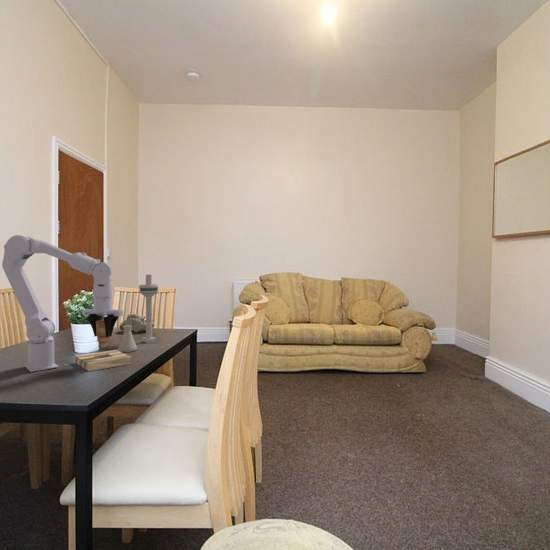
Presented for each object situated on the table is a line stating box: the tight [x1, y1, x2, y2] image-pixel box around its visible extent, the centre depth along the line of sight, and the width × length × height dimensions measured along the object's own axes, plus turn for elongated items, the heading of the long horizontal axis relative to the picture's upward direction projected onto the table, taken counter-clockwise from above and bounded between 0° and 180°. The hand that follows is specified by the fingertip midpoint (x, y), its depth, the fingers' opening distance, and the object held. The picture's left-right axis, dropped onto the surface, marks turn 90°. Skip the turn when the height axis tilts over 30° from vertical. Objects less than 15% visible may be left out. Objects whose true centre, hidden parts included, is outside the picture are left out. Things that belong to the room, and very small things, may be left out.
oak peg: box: [95, 319, 109, 348], centre depth 131 cm, size 4×4×9 cm
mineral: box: [118, 313, 155, 333], centre depth 194 cm, size 12×17×10 cm
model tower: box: [138, 274, 160, 344], centre depth 169 cm, size 8×8×30 cm
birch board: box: [75, 349, 132, 372], centre depth 132 cm, size 14×14×2 cm
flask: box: [117, 325, 138, 353], centre depth 151 cm, size 7×7×10 cm
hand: (103, 336), depth 131 cm, fingers closed on oak peg, 4 cm apart
